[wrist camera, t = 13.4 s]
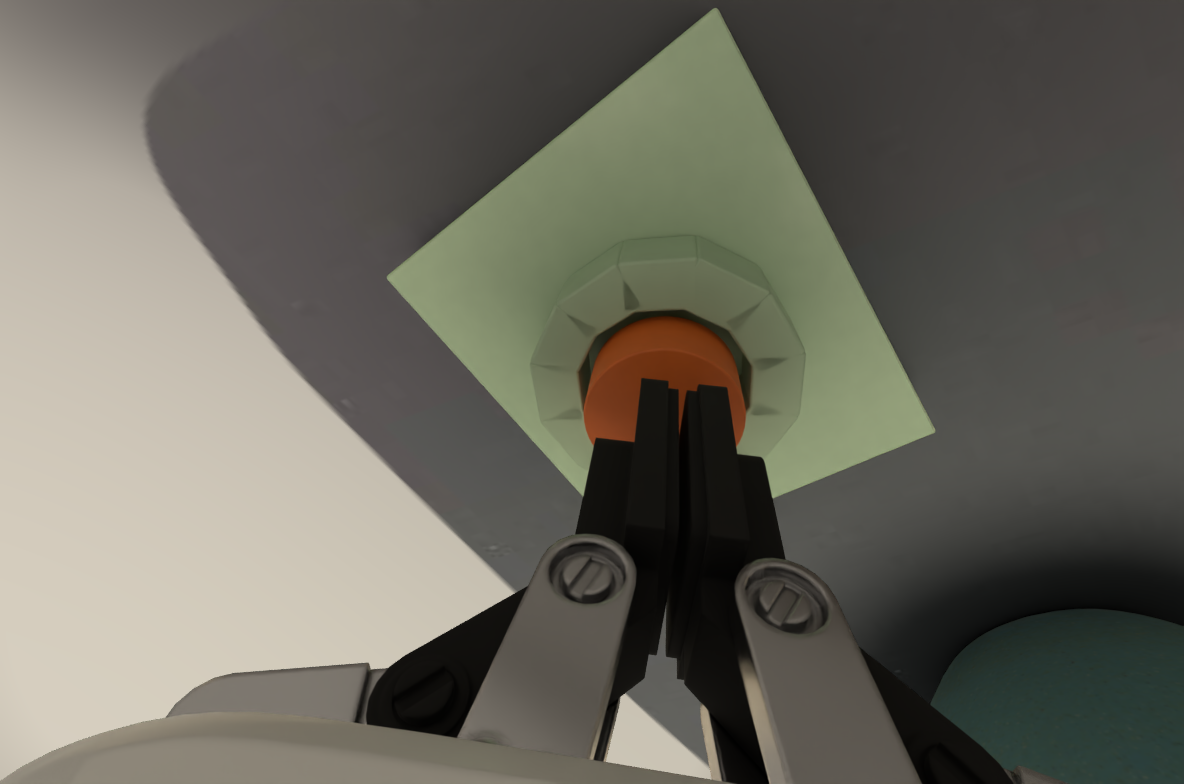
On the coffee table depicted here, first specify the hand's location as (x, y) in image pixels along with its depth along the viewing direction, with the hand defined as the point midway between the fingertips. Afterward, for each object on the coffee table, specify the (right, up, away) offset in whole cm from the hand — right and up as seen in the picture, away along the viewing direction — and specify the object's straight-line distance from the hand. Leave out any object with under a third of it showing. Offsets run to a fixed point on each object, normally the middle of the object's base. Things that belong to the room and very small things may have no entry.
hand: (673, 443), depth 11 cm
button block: (+1, +3, +6) cm, 7 cm away
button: (0, +1, +3) cm, 3 cm away
